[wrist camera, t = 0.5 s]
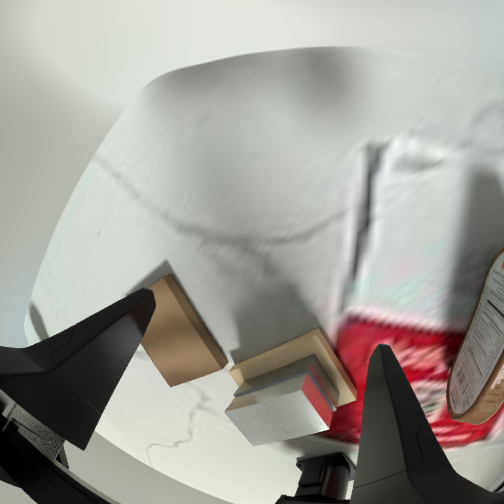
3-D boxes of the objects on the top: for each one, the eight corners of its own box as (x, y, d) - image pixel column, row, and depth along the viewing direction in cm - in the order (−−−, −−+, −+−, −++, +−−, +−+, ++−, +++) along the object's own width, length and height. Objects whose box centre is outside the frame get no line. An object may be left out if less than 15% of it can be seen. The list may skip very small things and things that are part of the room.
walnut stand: (228, 362, 27) (222, 369, 26) (177, 381, 31) (170, 387, 29) (171, 273, 28) (162, 277, 26) (129, 307, 31) (121, 310, 30)
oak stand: (356, 390, 23) (356, 400, 21) (274, 417, 26) (269, 426, 25) (318, 327, 23) (315, 334, 22) (234, 364, 27) (228, 371, 26)
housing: (339, 393, 22) (332, 430, 17) (270, 415, 25) (252, 447, 20) (314, 353, 22) (302, 387, 17) (243, 380, 25) (221, 410, 21)
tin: (457, 388, 19) (477, 445, 11) (434, 385, 20) (449, 445, 12) (514, 241, 15) (567, 260, 7) (489, 232, 16) (543, 248, 8)
